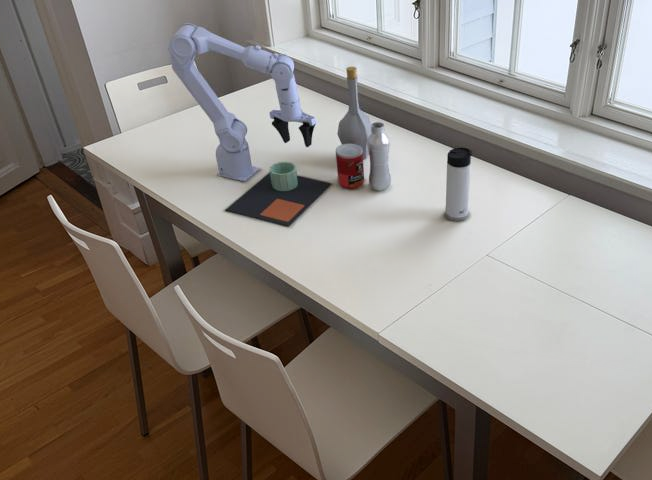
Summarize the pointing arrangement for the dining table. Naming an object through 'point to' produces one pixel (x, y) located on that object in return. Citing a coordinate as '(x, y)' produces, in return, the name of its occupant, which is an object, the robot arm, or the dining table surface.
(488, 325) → the dining table surface
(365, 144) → the bottle
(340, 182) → the canned food
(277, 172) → the cup
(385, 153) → the silver smooth rounded piece
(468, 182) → the travel mug
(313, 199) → the mat
